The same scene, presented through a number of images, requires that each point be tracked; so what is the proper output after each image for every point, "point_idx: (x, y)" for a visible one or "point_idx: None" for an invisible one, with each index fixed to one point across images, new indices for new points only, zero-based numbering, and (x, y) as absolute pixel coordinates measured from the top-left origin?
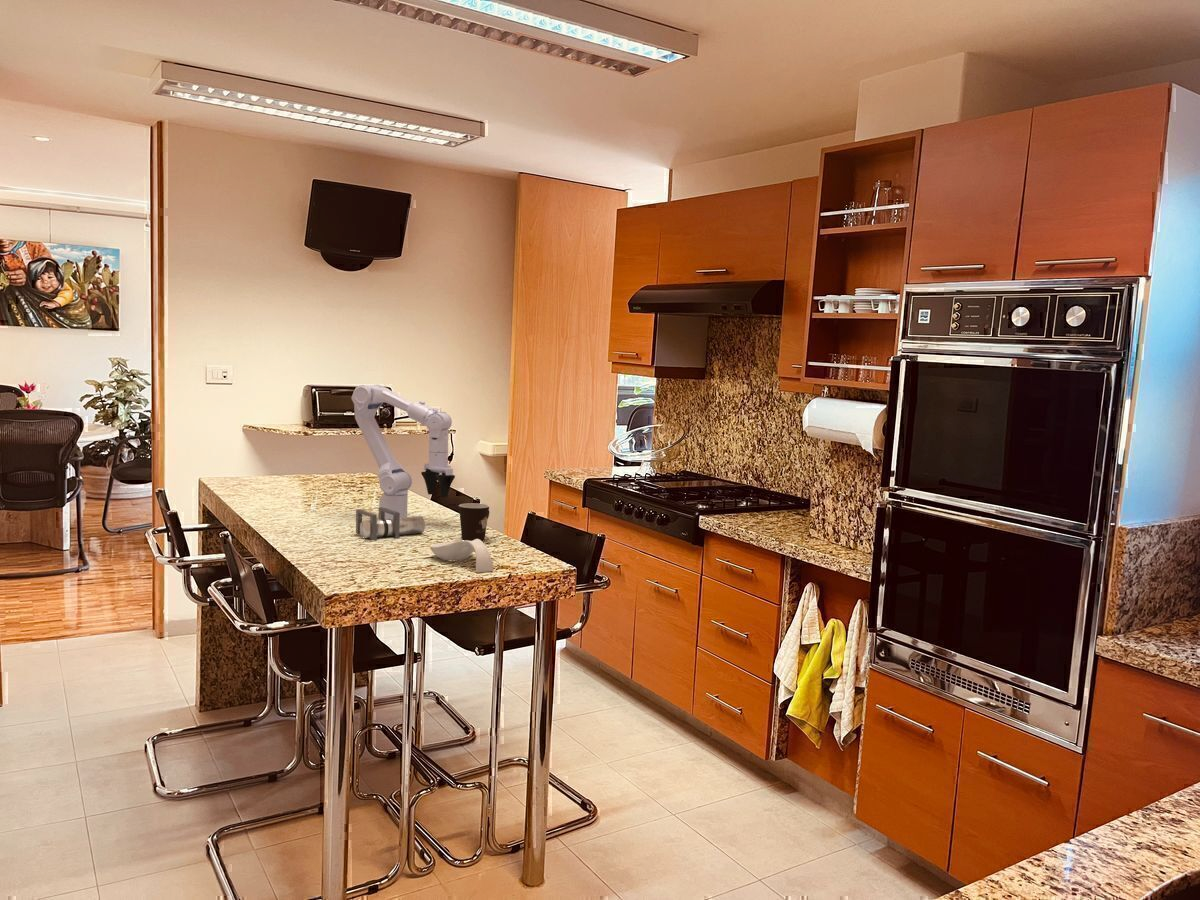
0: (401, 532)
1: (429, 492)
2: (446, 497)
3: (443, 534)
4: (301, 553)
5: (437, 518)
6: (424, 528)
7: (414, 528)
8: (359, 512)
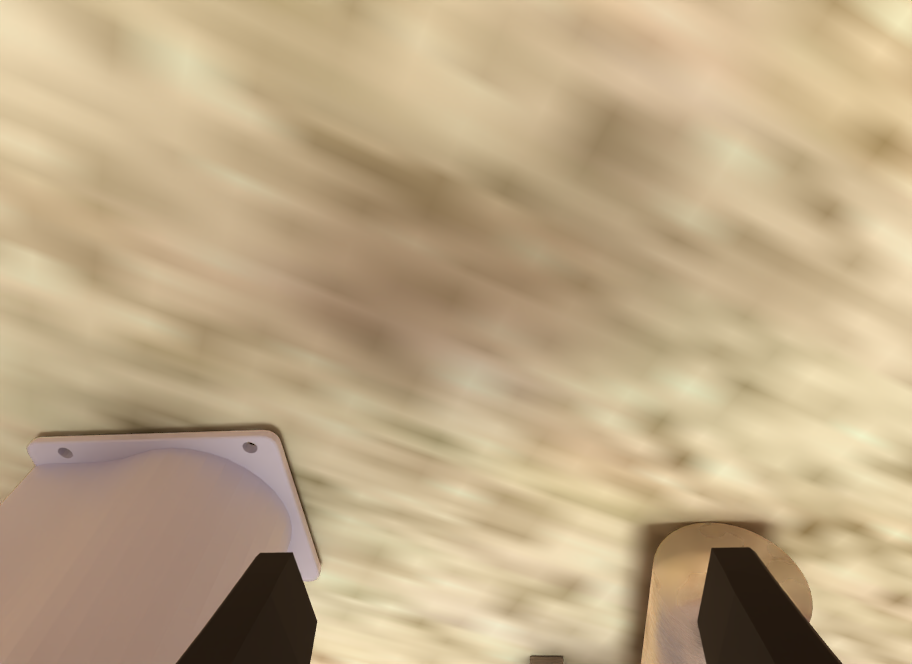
0: None
1: (305, 649)
2: (755, 559)
3: (883, 419)
4: None
5: (40, 121)
6: (791, 562)
7: None
8: None
